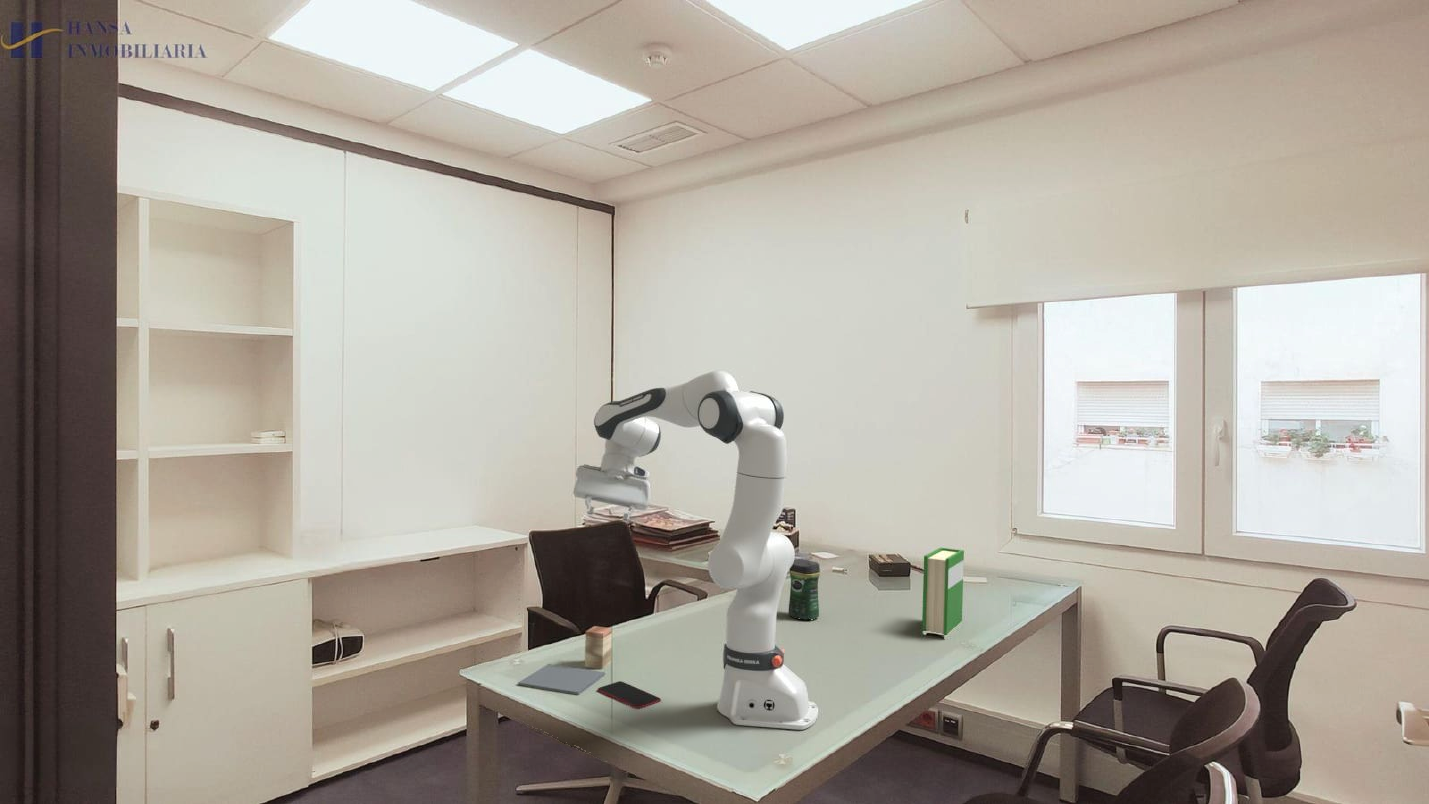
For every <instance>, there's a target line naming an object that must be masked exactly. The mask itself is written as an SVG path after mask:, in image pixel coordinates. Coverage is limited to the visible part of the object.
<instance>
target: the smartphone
mask: <svg viewBox="0 0 1429 804" xmlns="http://www.w3.org/2000/svg"><path fill="white" fill-rule="evenodd" d="M597 691H598V692H599V693H600V692H601V694H602V695H605V694H606V695H605V696H607V695H608V696H607V697H609V696H610V698H611V697H612V698H611V699H614V700H616V701H618V702H620V703H622V702H623V704H624V703H625V705H627V706H629V705H630V706H629V707H631V706H632V707H631V708H633V707H634V708H633V709H635V708H636V710H641V709H643V707H644V708H647V707H649V705H650V706H652V705H655V704H657V703H660V702H661V701H662V699H661V698H660V697H658V696H656V695H653V694H652V693H649V692H647V691H646V690H643V689H640V688H638V687H636V686H633V685H631V684H629V683H627V682H625V681H616V682H613V683H610V684H607V685H603V686H601V687H598V688H597ZM646 706H647V707H646ZM640 708H641V709H640Z"/></svg>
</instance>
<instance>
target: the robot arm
mask: <svg viewBox="0 0 1429 804" xmlns="http://www.w3.org/2000/svg"><path fill="white" fill-rule="evenodd" d="M784 416H785V415H784V409H783V407H782V404H781V403H780V402H779V400H777V399H776V398H775V397H773V396H771V395H768V394H766V393H762V392H756V391H752V390H751V391H746V390H745V391H744V390H740V389H739V386H738V383H737V381H736V379H735V378H734V377H733V376H732V375H731V374H730V373H729V372H727V371H725V370H724V371H723V370H713V371H709V372H707V373H703V374H702V375H699V376H696V377H694V378H692V379H691V380H689V381H687V382H685V383H683V384H679V385H675V386H674V385H673V386H667V387H655V388H650V389H648V390H645V391H643V392H639V393H638V394H637V393H636V394H635V395H632V396H629V397H626V398H625V399H621V400H614V401H610V402H607V403H605V404H603V405H602V406H601V407H600V408H599V409H598V410H597V412H596V413H595V416H594V418H593V419H594V420H593V425H594V429H595V431H596V433H597V435H598V437H599V438H601V439H604V440H605V444H604V454H603V456H602V458H601V463H600V466H595V465H590V464H583V465H579V466H578V467H577V469H576V472H575V475H576V478H577V479H576V481H575V485H574V488H573V492H572V493H573V495H574V497H575V498H579V499H584V500H585V501H584V504H585V507H586V508H587V512H586V515H589V516H593V515H594V510H595V506H592V505H591V501H595V502H599V503H604V504H610V505H614V506H618V507H619V506H620V507H624V508H628V511H627V513H625V512H624V513H623V516H622V522H623V523H629V520H630V517H631V516H632V515H633V514H634V512H635V510H638V511H643V512H644V511H645V510H647V509H648V508H649V506H650V501H651V485H650V481H649V477H650V472H649V471H648V470H647V469H645V468H642V467H641V466H639V465H637V464H636V463H635V459H636V458H637V457H639V458H641V457H644V456H647V455H649V454H651V453H653V452H655V451H656V450H657V449H658V447H659V445H660V442H661V436H662V434H661V433H662V432H661V428H660V425H659V424H658V423H657V422H655V421H653V420H652V419H650V418H655V419H658V420H659V419H660V420H663V421H666V422H668V423H672V424H674V425H676V426H679V427H683V428H697V427H700V428H701V429H702V430H703V431H704V432H705V433H706V434H707V435H710V436H712V437H714V438H716V439H719V441H721V442H722V443H724V444H726V445H729V444H731V443H732V442H733V443H734V444H735V445H736V447H737V449H738V461H737V470H736V479H735V487H734V488H735V489H734V496H733V503H732V508H731V511H730V515H729V517H728V520H727V523H726V526H725V528H724V530H723V532H722V535H721V537H720V539H719V541H718V543H717V545H715V546H714V548H713V549H712V550H711V552H710V553H709V555H708V561H707V568H708V573H709V576H710V577H711V579H712V581H713V582H714V583H715V584H716V585H717V586H718V587H720V588H722V589H725V590H726V589H727V590H736V592H735V595H734V597H733V599H732V601H731V602H730V603H729V605H728V607H727V612H726V629H725V630H726V631H725V632H726V635H725V636H726V638H725V643H724V645H723V653H722V655H723V656H722V665H723V670H724V671H723V679H722V680H723V681H722V685H721V691H720V695H719V699H718V702H717V705H716V708H717V711H718V712H719V713H720V714H722V715H723V716H725V717H727V718H728V719H729V720H730V721H731V722H732V724H734V725H737V726H745V727H746V726H748V727H761V728H771V729H772V728H773V729H784V730H785V729H786V730H787V729H788V730H799V731H801V730H805V729H808V728H811V726H813V725H814V724H815V723H816V721H817V720H818V717H819V708H818V705H817V704H816V703H815V702H813V701H810V699H809V694H808V688H807V686H806V683H805V682H804V680H802V679H801V678H800V677H799V676H798V675H796V674H795V673H794V672H793V670H790V669H789V668H788V666H787V665H785V664H784V661H785V658H784V657H785V656H784V655H785V648H783V649H782V650H781V649H780V648H779V646H777V645H776V636H777V635H776V633H777V632H776V630H777V629H776V628H777V614H778V607H779V602H780V598H781V595H782V591H783V587H784V584H785V582H786V581H785V580H786V577H787V574H788V573H789V570H790V568H791V566H792V564H793V562H794V560H795V558H796V556H795V555H796V553H795V547H794V544H793V543H792V542H791V541H792V540H790V538H788V537H787V536H786V535H784V534H783V533H779V532H775V531H773V528H774V526H775V523H776V522H777V520H778V519H779V517H780V516H781V515H782V513H783V510H784V503H785V502H784V501H785V492H786V482H787V481H786V480H787V472H788V449H787V448H788V447H787V438H786V434H784V432H783V430H781V429H782V426H783V423H784V418H785V417H784ZM648 417H649V418H648ZM816 719H817V720H816Z"/></svg>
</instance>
